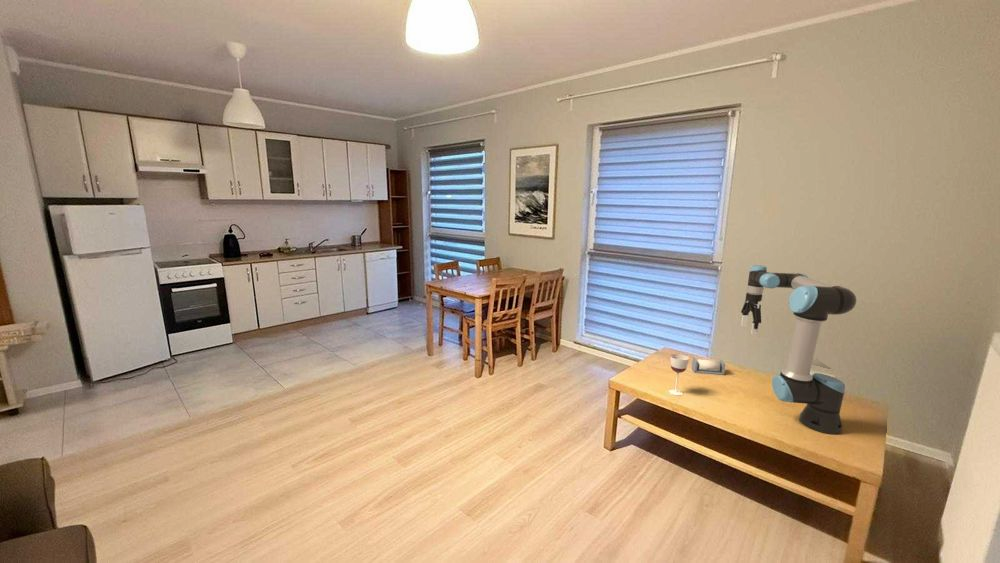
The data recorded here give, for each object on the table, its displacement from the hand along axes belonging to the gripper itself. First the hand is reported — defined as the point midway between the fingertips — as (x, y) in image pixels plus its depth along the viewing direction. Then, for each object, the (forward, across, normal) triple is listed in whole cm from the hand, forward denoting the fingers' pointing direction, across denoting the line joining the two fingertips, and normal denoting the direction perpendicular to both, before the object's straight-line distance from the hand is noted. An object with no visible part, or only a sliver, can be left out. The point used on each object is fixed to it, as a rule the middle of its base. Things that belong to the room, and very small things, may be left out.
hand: (748, 330), depth 222 cm
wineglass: (+29, -28, +42) cm, 58 cm away
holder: (+29, +4, +17) cm, 34 cm away
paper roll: (+27, +3, +17) cm, 32 cm away
